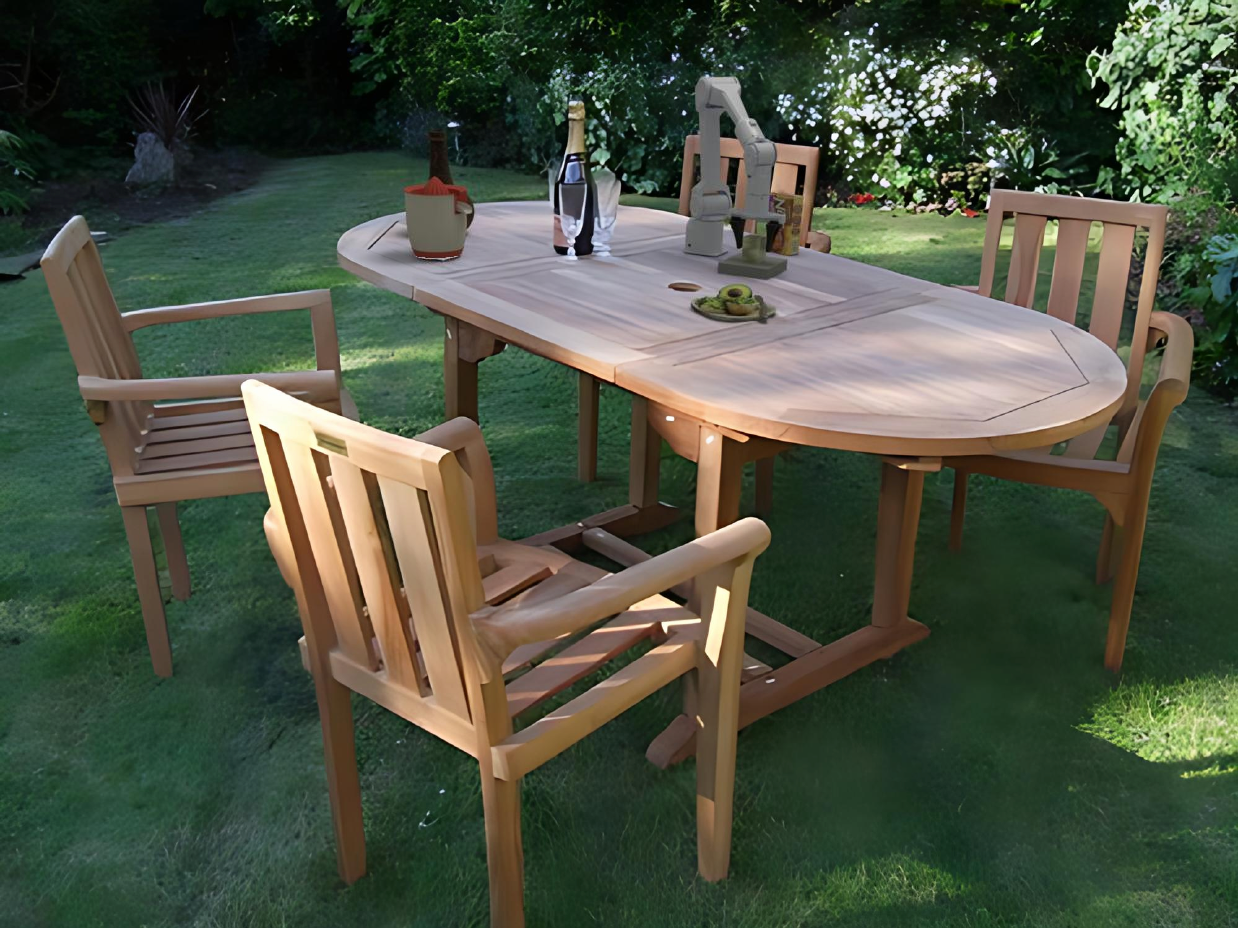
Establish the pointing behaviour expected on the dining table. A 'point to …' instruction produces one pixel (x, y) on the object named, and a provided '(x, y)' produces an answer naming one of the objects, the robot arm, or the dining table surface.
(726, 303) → the salad plate
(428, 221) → the citrus juicer
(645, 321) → the dining table surface
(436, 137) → the glass bottle
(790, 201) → the candy box
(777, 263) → the base board
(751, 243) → the sage block
